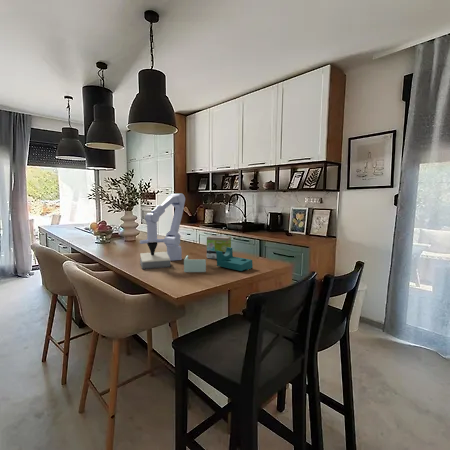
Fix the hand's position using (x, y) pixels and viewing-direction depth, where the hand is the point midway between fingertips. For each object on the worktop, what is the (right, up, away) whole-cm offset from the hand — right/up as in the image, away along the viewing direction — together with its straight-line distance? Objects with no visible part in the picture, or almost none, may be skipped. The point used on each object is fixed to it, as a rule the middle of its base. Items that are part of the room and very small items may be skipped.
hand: (152, 254), depth 172 cm
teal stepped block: (+50, -7, -6) cm, 51 cm away
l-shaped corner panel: (+27, -8, -10) cm, 30 cm away
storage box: (+2, -6, -1) cm, 7 cm away
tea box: (+40, -5, +22) cm, 46 cm away
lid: (+2, -1, -2) cm, 3 cm away
